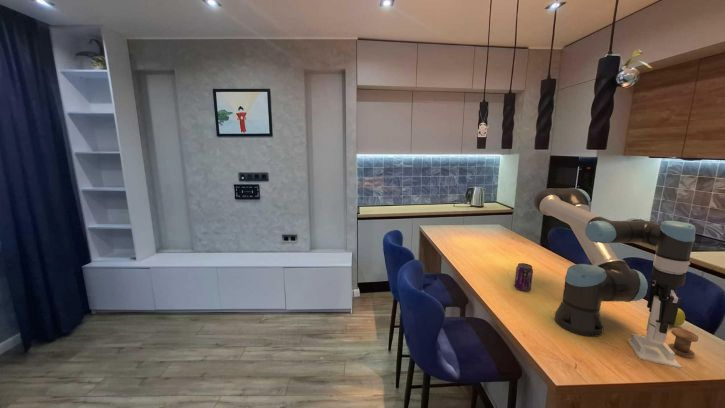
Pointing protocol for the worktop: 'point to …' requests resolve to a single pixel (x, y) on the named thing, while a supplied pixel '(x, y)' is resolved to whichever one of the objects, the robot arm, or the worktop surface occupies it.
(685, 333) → the wooden cabinet knob
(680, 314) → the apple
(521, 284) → the beverage can
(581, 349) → the worktop surface
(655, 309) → the tube
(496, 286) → the worktop surface
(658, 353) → the notch board
